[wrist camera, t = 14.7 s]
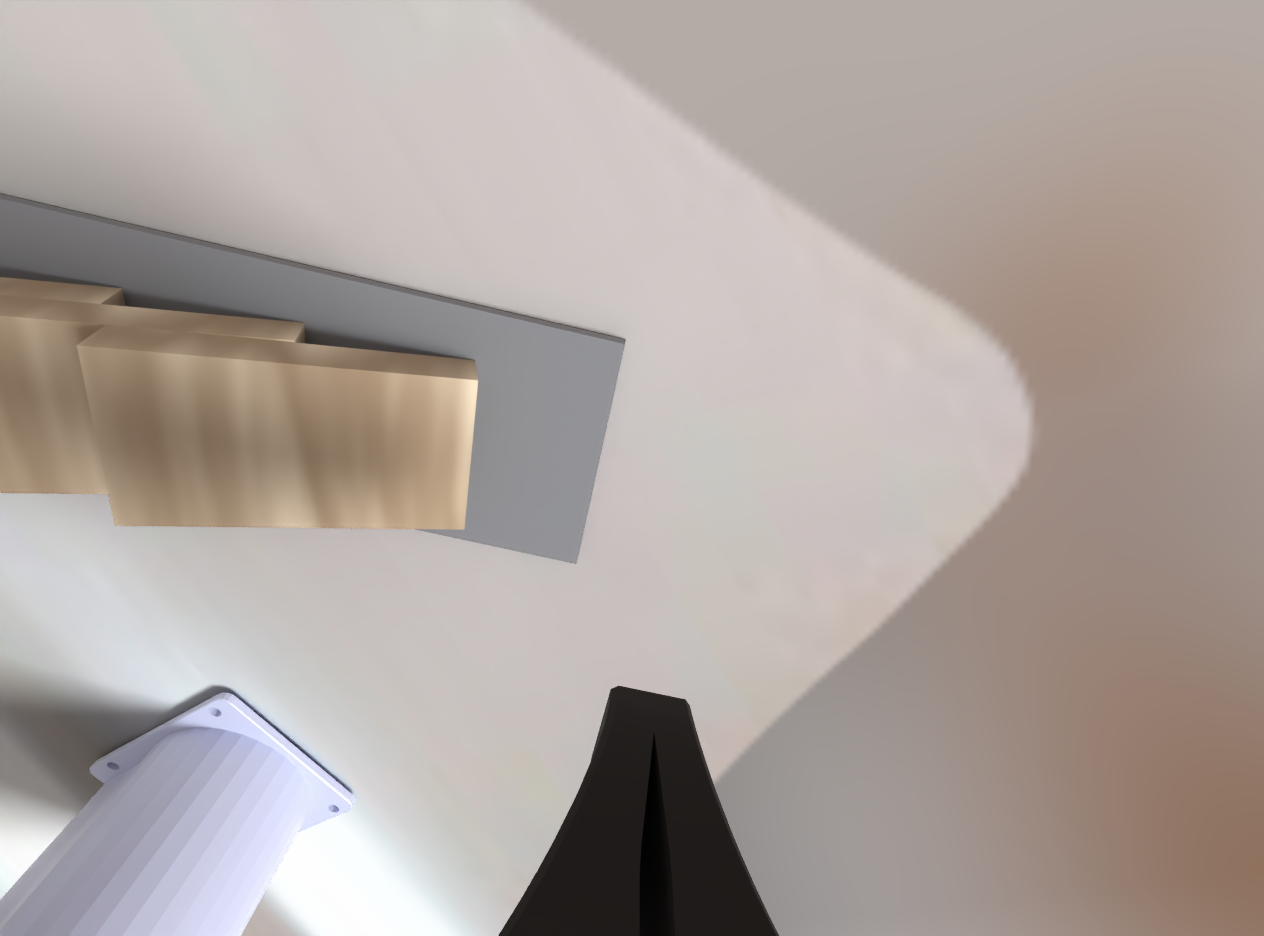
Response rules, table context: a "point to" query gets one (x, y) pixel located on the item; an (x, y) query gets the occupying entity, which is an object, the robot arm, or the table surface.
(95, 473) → the maple domino
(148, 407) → the maple domino
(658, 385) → the table surface
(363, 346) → the mat
